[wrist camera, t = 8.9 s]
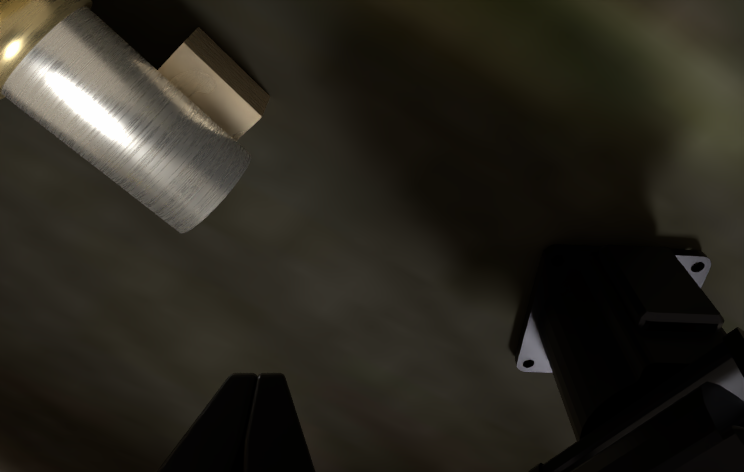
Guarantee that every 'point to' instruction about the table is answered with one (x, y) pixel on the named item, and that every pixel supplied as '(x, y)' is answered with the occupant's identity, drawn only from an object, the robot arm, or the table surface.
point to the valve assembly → (132, 105)
